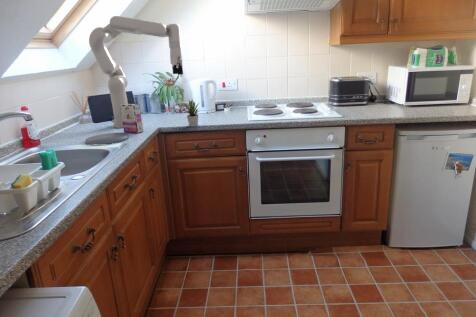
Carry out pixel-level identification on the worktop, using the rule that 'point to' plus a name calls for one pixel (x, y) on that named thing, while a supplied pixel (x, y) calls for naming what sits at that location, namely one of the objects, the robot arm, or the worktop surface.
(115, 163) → the worktop surface
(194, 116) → the house plant
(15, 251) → the worktop surface
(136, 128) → the candy bar box
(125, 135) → the plate
